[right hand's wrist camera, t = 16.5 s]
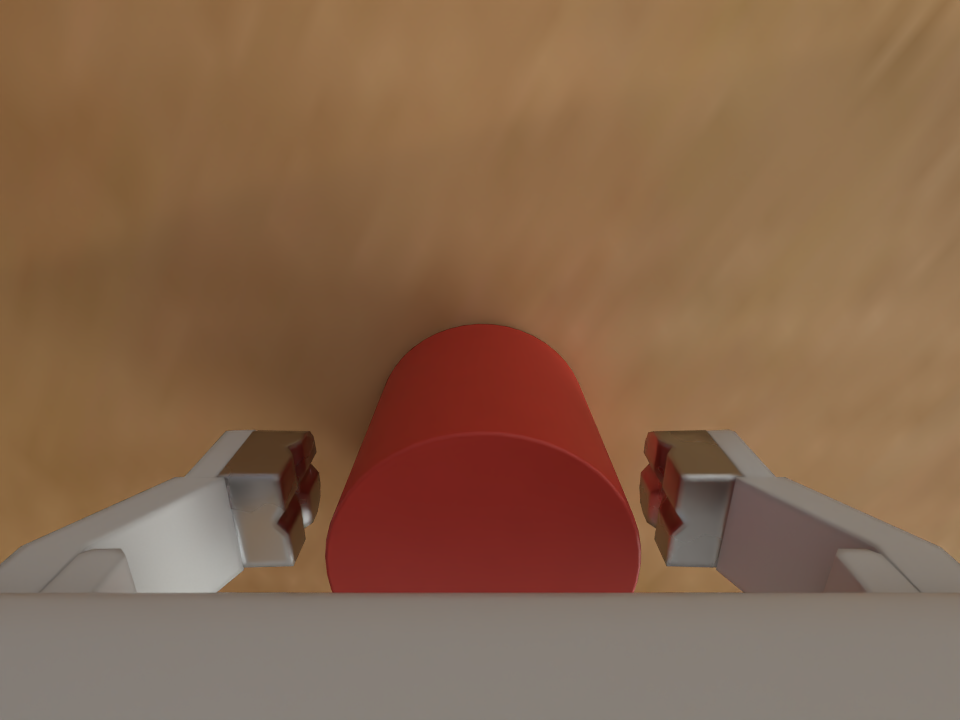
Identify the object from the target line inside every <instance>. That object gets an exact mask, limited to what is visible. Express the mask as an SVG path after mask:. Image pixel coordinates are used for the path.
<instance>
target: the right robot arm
mask: <svg viewBox="0 0 960 720" xmlns="http://www.w3.org/2000/svg"><path fill="white" fill-rule="evenodd" d="M315 454H316V447H315V441H314V436H313V435H312V434H311V432H310V431H273V430H257V431H256V430H230V431H226V432H225V433H224V434H223V435H222V436H221V437H220V438H219V439H218V440H217V441H216V443H215V444H214V445H213V446H212V447H211V448H210V449H209V450H208V451H207V453H206V454H205V455H204V456H203V457H202V458H201V459H200V460H199V461H198V462H197V464H196V465H195V466H194V467H193V468H192V469H191V470H190V471H189V472H188V473H187V475H186V476H185V477H175V478H172V479H170V480H168V481H166V482H163V483H161V484H159V485H157V486H155V487H152V488H150V489H148V490H146V491H143V492H141V493H139V494H137V495H134V496H132V497H130V498H128V499H125V500H123V501H121V502H119V503H117V504H114V505H112V506H110V507H108V508H105V509H103V510H101V511H99V512H96V513H94V514H92V515H90V516H88V517H85V518H83V519H81V520H79V521H76V522H74V523H72V524H70V525H67V526H65V527H63V528H61V529H59V530H56V531H54V532H52V533H50V534H47V535H45V536H43V537H41V538H38V539H36V540H34V541H32V542H30V543H27V544H25V545H23V546H21V547H20V548H18V549H17V550H16V551H15V552H14V553H13V554H11V555H10V556H9V557H8V558H7V559H6V560H5V561H3V562H2V563H1V564H0V720H960V564H959V563H958V562H957V561H956V560H955V559H954V558H952V557H951V556H950V555H949V554H948V553H947V552H946V551H944V550H943V549H942V548H941V547H939V546H937V545H935V544H932V543H930V542H928V541H926V540H923V539H921V538H919V537H917V536H915V535H912V534H910V533H908V532H906V531H903V530H901V529H899V528H897V527H895V526H892V525H890V524H888V523H886V522H883V521H881V520H879V519H877V518H875V517H872V516H870V515H868V514H866V513H863V512H861V511H859V510H857V509H854V508H852V507H850V506H848V505H846V504H843V503H841V502H839V501H837V500H834V499H832V498H830V497H828V496H826V495H823V494H821V493H819V492H817V491H814V490H812V489H810V488H808V487H806V486H803V485H801V484H799V483H797V482H794V481H792V480H790V479H788V478H785V477H775V476H774V475H773V473H772V472H771V471H770V470H769V469H768V468H767V467H766V466H765V465H764V463H763V462H762V461H761V460H760V459H759V458H758V457H757V456H756V455H755V454H754V452H753V451H752V450H751V449H750V448H749V447H748V446H747V445H746V444H745V442H744V441H743V440H742V439H741V438H740V437H739V436H738V435H737V434H736V433H735V432H734V431H731V430H693V431H653V432H648V435H647V438H646V440H645V447H644V454H645V456H646V457H647V459H648V461H649V463H650V464H649V465H648V466H647V467H646V468H645V469H644V470H643V471H642V472H641V478H640V487H639V489H640V503H641V507H642V511H643V514H644V516H645V519H646V521H647V523H649V524H650V525H652V526H653V527H655V528H656V532H655V542H656V544H657V546H658V548H659V550H660V552H661V555H662V557H663V559H664V561H665V563H666V566H682V567H717V568H716V570H717V571H718V572H720V573H721V574H722V575H723V576H725V577H726V578H727V579H728V580H729V581H731V582H732V583H733V584H734V585H735V586H737V587H738V588H739V589H740V590H742V591H743V592H744V593H216V592H218V591H219V590H220V589H221V588H222V587H224V586H225V585H226V584H227V583H228V582H230V581H231V580H232V579H233V578H235V577H236V576H237V575H238V574H239V573H241V572H242V571H243V570H244V568H243V567H277V566H294V564H295V562H296V559H297V557H298V555H299V553H300V550H301V548H302V546H303V544H304V542H305V539H306V538H305V531H304V528H305V527H307V526H308V525H310V524H311V523H313V521H314V519H315V517H316V514H317V512H318V507H319V501H320V476H319V472H318V471H317V470H316V469H315V468H314V467H313V466H312V465H311V461H312V459H313V458H314V456H315Z"/></svg>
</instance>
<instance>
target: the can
mask: <svg viewBox="0 0 960 720" xmlns="http://www.w3.org/2000/svg"><path fill="white" fill-rule="evenodd" d="M325 559H326V569H327V575H328V579H329V583H330V586H331V590H332V592H333V593H634V590H635V587H636V584H637V581H638V575H639V570H640V564H641V545H640V538H639V532H638V528H637V525H636V522H635V519H634V516H633V513H632V511H631V509H630V506H629V504H628V501H627V499H626V497H625V494H624V492H623V489H622V487H621V484H620V482H619V480H618V477H617V475H616V472H615V470H614V468H613V465H612V463H611V460H610V458H609V456H608V453H607V451H606V448H605V446H604V444H603V441H602V439H601V436H600V434H599V432H598V429H597V427H596V424H595V422H594V420H593V417H592V415H591V412H590V410H589V407H588V405H587V403H586V400H585V398H584V395H583V393H582V391H581V388H580V386H579V383H578V381H577V379H576V377H575V376H574V374H573V372H572V370H571V369H570V367H569V366H568V365H567V363H566V362H565V361H564V360H563V359H562V357H561V356H560V355H559V354H558V353H557V352H556V351H555V350H553V349H552V348H551V347H549V346H548V345H547V344H546V343H544V342H542V341H541V340H539V339H537V338H536V337H534V336H532V335H530V334H527V333H525V332H523V331H520V330H517V329H513V328H510V327H506V326H499V325H493V324H474V325H464V326H459V327H455V328H451V329H448V330H445V331H442V332H439V333H437V334H435V335H433V336H431V337H429V338H427V339H425V340H424V341H422V342H421V343H419V344H418V345H416V346H415V347H414V348H412V349H411V350H410V351H409V352H408V353H407V354H406V355H405V356H404V357H403V358H402V359H401V360H400V362H399V363H398V364H397V365H396V366H395V368H394V370H393V371H392V373H391V375H390V376H389V378H388V380H387V383H386V385H385V388H384V390H383V393H382V395H381V398H380V400H379V403H378V405H377V408H376V410H375V413H374V415H373V418H372V420H371V423H370V425H369V428H368V430H367V433H366V435H365V438H364V440H363V443H362V445H361V448H360V450H359V453H358V455H357V458H356V460H355V463H354V465H353V468H352V470H351V473H350V475H349V478H348V480H347V483H346V485H345V488H344V490H343V493H342V495H341V498H340V500H339V503H338V505H337V508H336V510H335V513H334V515H333V518H332V520H331V523H330V526H329V530H328V535H327V539H326V552H325Z"/></svg>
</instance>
